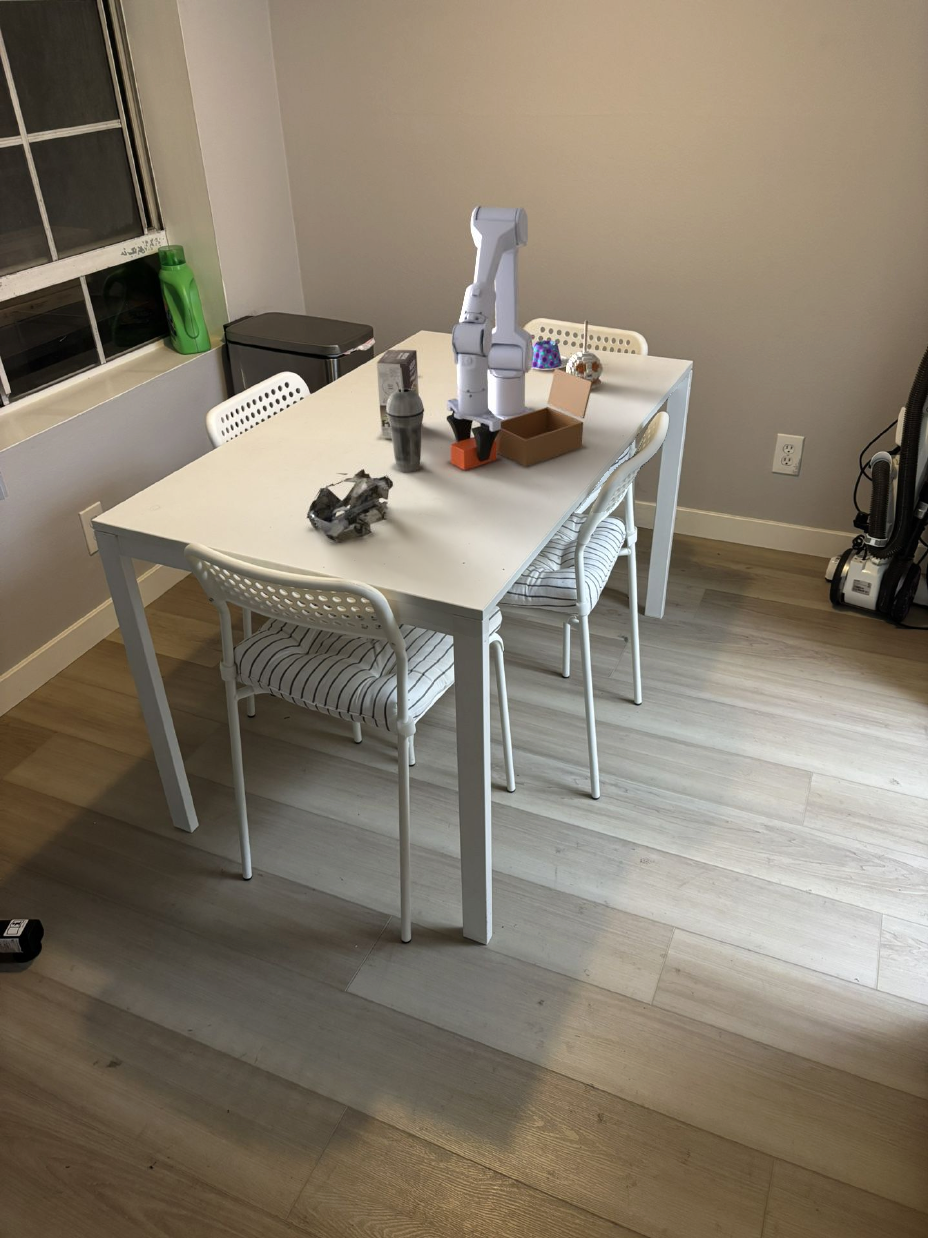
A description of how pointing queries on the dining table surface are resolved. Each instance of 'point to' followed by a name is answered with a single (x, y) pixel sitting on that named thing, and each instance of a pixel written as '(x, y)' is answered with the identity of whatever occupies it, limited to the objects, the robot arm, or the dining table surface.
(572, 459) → the dining table surface
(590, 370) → the decorative ornament
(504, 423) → the box
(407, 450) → the beverage cup
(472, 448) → the block
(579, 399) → the flap
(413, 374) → the coffee box
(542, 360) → the pudding
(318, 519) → the foil
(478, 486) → the dining table surface
